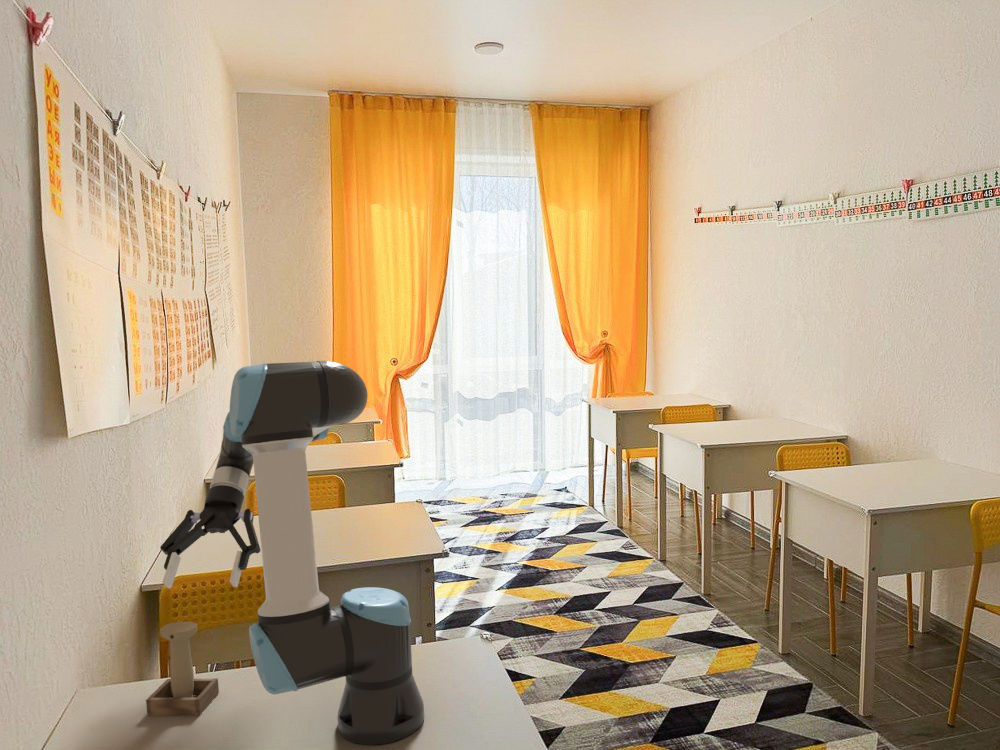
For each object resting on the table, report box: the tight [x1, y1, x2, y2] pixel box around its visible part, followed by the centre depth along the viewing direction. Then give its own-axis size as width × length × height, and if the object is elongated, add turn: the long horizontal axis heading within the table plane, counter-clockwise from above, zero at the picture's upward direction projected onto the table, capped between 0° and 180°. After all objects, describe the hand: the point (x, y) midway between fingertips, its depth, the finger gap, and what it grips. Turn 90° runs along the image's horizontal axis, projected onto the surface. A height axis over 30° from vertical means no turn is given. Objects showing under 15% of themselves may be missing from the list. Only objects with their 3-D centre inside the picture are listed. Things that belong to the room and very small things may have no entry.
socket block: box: [145, 677, 220, 717], centre depth 138 cm, size 10×8×3 cm
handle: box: [159, 621, 198, 698], centre depth 137 cm, size 5×6×15 cm
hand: (200, 585), depth 146 cm, fingers open, 13 cm apart
